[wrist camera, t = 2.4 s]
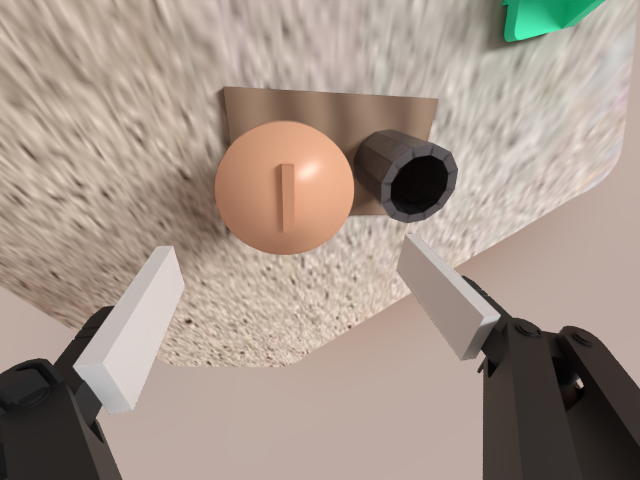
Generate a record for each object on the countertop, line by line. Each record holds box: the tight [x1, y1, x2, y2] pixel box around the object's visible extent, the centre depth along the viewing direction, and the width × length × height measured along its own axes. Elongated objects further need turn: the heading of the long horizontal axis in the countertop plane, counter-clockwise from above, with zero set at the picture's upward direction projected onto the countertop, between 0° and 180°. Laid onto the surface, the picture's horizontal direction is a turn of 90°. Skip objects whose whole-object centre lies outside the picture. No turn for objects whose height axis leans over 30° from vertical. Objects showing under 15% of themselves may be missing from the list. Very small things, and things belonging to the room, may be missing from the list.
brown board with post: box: [223, 87, 438, 216], centre depth 31 cm, size 26×16×10 cm, turn 87°
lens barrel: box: [353, 129, 458, 223], centre depth 31 cm, size 8×8×10 cm
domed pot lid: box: [215, 120, 354, 255], centre depth 24 cm, size 12×12×5 cm
